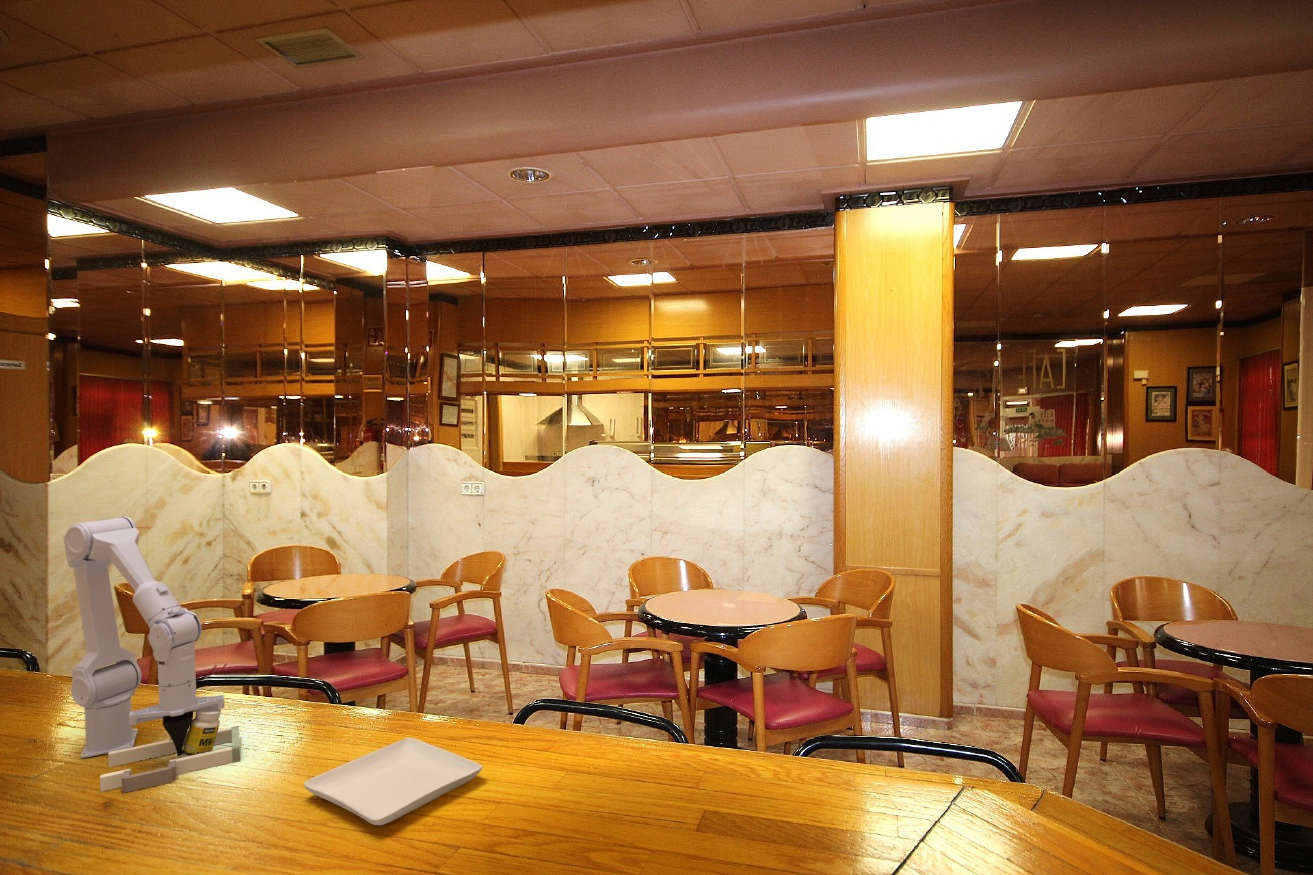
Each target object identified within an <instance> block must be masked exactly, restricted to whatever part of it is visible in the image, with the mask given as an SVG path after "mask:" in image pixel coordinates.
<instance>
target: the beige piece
mask: <svg viewBox="0 0 1313 875" xmlns="http://www.w3.org/2000/svg"><path fill="white" fill-rule="evenodd" d="M239 729H240V727H239V725H236V726H231V727H226V728H221V729H218V731H217V735H216V738H215V742H214V745H213V746H217V745H222V743H223V744H226V743H225V742H227V743H231V746H229V747H226V748H221V749H216V750H212V751H211V752H206V753H201V754H197V755H192V756H187V757H184V756H182V757H179V758H175V759H170V760H169V762H168V766H167V767H166V766H165V767H161V768H158V769H154V770H149V771H144V772H139V773H136V774H135V773H134V774H132V768H127V769H122V770H118V771H114V772H109V773H104V774H101V775H100V777H99V784H100V785H99V787H100V788H99V790H100V792H101V793H102V792H105V791H111V790H115V789H120V788H121V793H124V794H125V793H126V792H127V793H130V792H134V791H139V789H140V790H143V788H144V789H148V787H149V788H153V787H156V786H161V784H162V785H165V783H166V784H170V782H171V783H173V782H174V781H176V779H177V775H182V774H186V773H191V772H195V771H200V770H203V769H204V768H205V769H209V768H212V767H218V766H222V764H223V765H226V764H231V763H230V762H232V763H234V762H235V763H236V762H240V761H241V753H240V730H239ZM188 731H189V730H188ZM188 731H187V734H188ZM187 734H186V736H185V740H184V743H183V747H184V744H185V741H186V738H187ZM231 741H232V742H231ZM173 753H175V754H177V751H176V748H175V745H174V743H173V741H172V739H171V737H170V736H169V739H166V740H162V741H161V740H160V741H157V742H156V741H155V742H153V743H148V744H142V745H138V746H133V747H131V748H126V749H121V750H116V751H111V752H109V753H107V755H108V756H107V757H108V758H107V760H108V761H107V762H108V768H113V767H118V766H122V765H128V764H132V762H133V763H135V762H141V761H140V760H142V761H146V759H147V760H150V759H149V758H152V759H154V758H155V757H156V758H160V756H161V757H163V756H162V755H166V756H170V755H169V754H171V755H174V754H173ZM156 758H155V759H156ZM205 769H204V770H205ZM172 781H173V782H172ZM152 786H153V787H152Z"/></svg>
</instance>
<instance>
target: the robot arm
mask: <svg viewBox="0 0 1313 875" xmlns="http://www.w3.org/2000/svg"><path fill="white" fill-rule="evenodd" d="M139 542H140V531H139V530H138V528H137V525H136V523H135V522H134V520H133V519H132V518H130V517H128V516H126V515H124V516H119V517H116V518H115V517H114V518H108V519H100V520H93V521H92V520H91V521H86V522H74V523H72V524H71V525H70V526H69V527H68V530H66V533H65V534H64V536H63V543H64V549H65V556H66V560H67V561H66V562H67V567H69V568H72V569H73V574H74V576H73V577H74V582H75V588H76V594H77V601H78V607H79V613H80V618H81V619H80V621H81V625H82V631H83V632H82V633H83V639H84V645H85V652H86V653H85V655H84V656H83V657H82V658H81V660H80V661H78V662H77V663H76V664H75V665H74V666H73V668H71V674H72V676H71V677H72V679H71V685H70V695H71V698H72V699H73V701H74V702H75V703H76V704H77V705H78V706H79V707H81V708H84V709H83V710H84V728H85V729H84V730H85V746H84V747H83V750H82V752H81V754H80V758H81V759H85V758H90V757H95V756H101V755H104V754H106V755H107V754H109V752H111V751H116V750H121V749H126V748H131V747H135V746H134V745H135V742H136V738H137V734H138V731H139V729H138V728H133V726H136V725H138V724H139V723H140V724H141V723H144V722H145V723H146V722H151V721H156V720H160V719H162V726H163V728H164V730H165V731H166V733H167V734H168V735H169V738H170V737H171V739H172V741H173V743H174V745H175V748H176V756H177V757H183V755H182V751H183V748H184V746H183V743H184V740H185V736H186V734H187V731H189V727H190V724H191V722H192V720H193V719H194V714H195V713H196V712H197V710H210V709H215V708H218V709H225V694H220V695H212V696H211V695H210V696H200V697H197V681H196V654H195V643H196V642H197V641H198V640H199V639H200V638H201V635H202V623H201V621H200V618H199V617H198V615H197V614H196V613H195V612H194V611H190V610H188V609H187V607H182V606H181V604H180V603H179V601H178V600H177V599H176V597H175V595H174V594H173V592H172V591H171V589H170V587H169V586H168V584H167V583H165V582H162V581H158V580H157V581H156V579H155V577H154V574H153V573H152V571H151V569H150V567H149V565H148V563H147V562H146V560H145V558H144V556H143V554H142V552H141V550H140V547H139V546H138V545H139ZM111 564H113V566H114V567H115V568H116V569H117V571H118V572H119V573H120V574H121V576H122V577H123V578H124V579H125V580H126V582H127V583H128V584H129V585H130V586H131V588H132V589H133V590H134V594H133V597H132V602H133V604H134V605H135V607H136V608H137V610H138V612H139V613H140V615H141V617H142V618H143V620H144V622H145V623H146V625H147V626H148V627H149V634H147V639H148V642H149V645H150V647H151V649H152V653H153V658H154V660H155V661H157V682H158V683H157V684H158V701H159V702H158V704H156V705H152V706H148V707H144V708H141V709H137V710H132V697H133V696H135V694H136V692H135V690H137V689H138V688H139V687H140V684H141V682H142V677H143V676H142V670H141V667H140V665H138V662H137V660H136V656H135V653H134V652H133V651H130V650H128V649H126V648H123V647H122V646H121V645H120V644H121V643H120V639H119V638H120V637H119V631H118V625H117V618H116V614H115V613H116V611H115V606H114V600H113V595H112V593H113V592H112V588H111V586H112V585H111V581H110V575H109V567H110V565H111Z"/></svg>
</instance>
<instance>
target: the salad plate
mask: <svg viewBox="0 0 1313 875" xmlns="http://www.w3.org/2000/svg"><path fill="white" fill-rule="evenodd" d="M483 768H484V767H483V765H482V764H480V763H478V762H476V761H474V760H471V759H468V758H466V757H464V756H461V755H460V754H456V753H454V752H451V751H449V750H447V749H443V748H441V747H438V746H436V745H432V744H430V743H427V742H425V741H423V740H420V739H417V738H414V737H405V738H402V739H400V740H398V741H395V742H393V743H390V744H388V745H386V746H384V747H381V748H379V749H376V750H374V751H372V752H369V753H367V754H364V755H362V756H360V757H358V758H356V759H355V758H354V760H353V759H352V760H350V761H348V762H347V763H344V764H342V765H339V766H336V767H335V768H333V769H330V770H327V771H325V772H323V773H321V774H318V775H316V776H314V777H311V778H310V779H309V778H308V780H306V781H305V782H303V787H304V788H305V789H306V790H307V791H308V792H310V793H312V794H313V795H315V796H318V797H320V798H322V799H324V800H326V801H328V802H331V803H332V804H335V805H337V806H339V807H341V808H342V809H345V810H346V811H349V813H350V812H351V813H353V814H354V815H355V816H358V817H360V818H361V819H363V820H365V821H366V822H368V823H369V824H371V825H374V826H383V825H387V824H389V823H391V822H393V821H395V820H397V819H399V818H401V817H403V816H405V815H407V814H409V813H412V812H413V811H415V810H417V809H419V808H421V807H423V806H425V805H426V804H428V803H431V802H432V801H434V800H436V799H437V798H439V797H441V796H442V795H445V794H446V793H449V792H450V791H453V790H454V789H456V788H459V787H462V785H465V784H466V783H468V782H469V781H472V779H474V778H475V777H477V776H478V774H479V773H480V772H481V771H482V770H483Z"/></svg>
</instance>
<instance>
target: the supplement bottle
mask: <svg viewBox="0 0 1313 875" xmlns="http://www.w3.org/2000/svg"><path fill="white" fill-rule="evenodd" d="M221 709H222V708H221ZM221 709H218V708H215V709H210V710H197V712H195V713H194V714H195V715H194V717H193V720H192V722H191V724H190V726H189V729H188V734H187V738H186V741H185V744H184V746H183V751H182V757H187V756H192V755H197V754H201V753H206V752H211V751H213V750H214V749H213V748H214V746H215V745H214V742H215V738H216V735H217V731H218V730H219V727H220V722H221V721H220V720H219V719H220V717H221V712H222V710H221Z"/></svg>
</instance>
